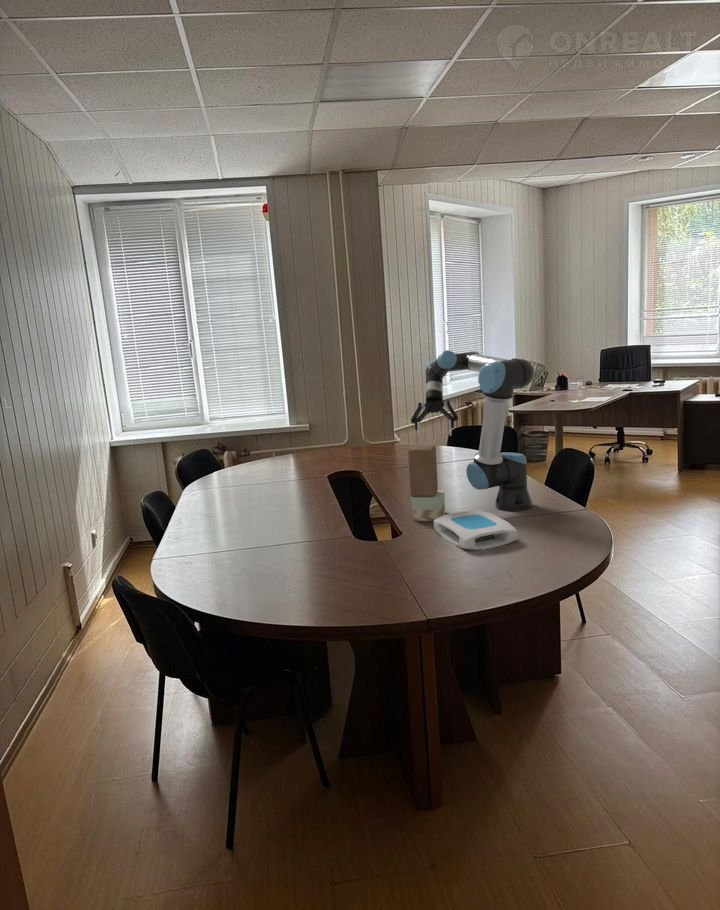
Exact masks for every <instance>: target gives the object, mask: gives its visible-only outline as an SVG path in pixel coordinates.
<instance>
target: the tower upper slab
mask: <svg viewBox="0 0 720 910" xmlns="http://www.w3.org/2000/svg"><path fill="white" fill-rule="evenodd" d="M445 497H446V496H445V490H444V489H443V490H439V489H438V490H437V492H436V494H435V495H434V496H433V497H413V496H411V498H410V499H411V502H410V503H411V510H412V511H413V510H441V509H442V507H443V504H444V502H445V503H446V501H445Z"/></svg>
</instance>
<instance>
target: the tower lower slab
mask: <svg viewBox="0 0 720 910" xmlns="http://www.w3.org/2000/svg"><path fill="white" fill-rule="evenodd" d="M445 503H446V501H445V502H444V504H443V507H442V509H441V510H412V514H413V522H428V521H429V522H432V521H433V522H434V520H435V519H437V518H439V517H441V516H443V515H446V506H445V505H446V504H445Z"/></svg>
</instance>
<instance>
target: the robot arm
mask: <svg viewBox="0 0 720 910" xmlns="http://www.w3.org/2000/svg"><path fill="white" fill-rule="evenodd" d="M467 370H468V371H473V372H478V373H479V374H478V378H477V379H478V380H477V381H478V384H479V385H478V386H479V389H480V391H481V392H482V394H483V396H484V397H485V404H484V412H483V417H482V418H483V419H482V424H481V432H480V441H479V447H478V452H476V453H474V457H473V462H470V463H469V464H467V466H466V477H467V479H468V482H469V483H470V485H471V486H472V487H473V488H474V489H475V490H478V491H479V490H480V491H481V490H488V489H491V488H495V487H498V492H497V494H496V495H497V496H496V499H495V508H497V510H501V511H508V512H509V511H510V512H517V511H518V512H519V511H525V510H528V509H531V508H532V506H533V505H532V504H533V503H532V502H533V501H532V498H531V496H530V492H529V489H528V475H527V474H528V471H527V470H528V469H527V468H528V467H527V466H528V463H527V457H526V456H525V455H526V454H525V455H524V454H523V453H518V452H506V451H504V452H501V450H502V444H503V443H502V442H503V437H504V436H503V435H504V430H505V422H506V418H507V417H506V416H507V411H508V403H509V401H510V400H511V399H512V398H513V396H514V391H515V390H520V389H523V388H526V387H527V386H529V385H530V384H531V383H532V381H533V379H534V377H535V370H534V366H533V365H532V363H531V362H530V361H528V360H527V359H523V358H518V357H516V358H515V357H513V358H511V359H509V358H507V359H506V358H501V357H495V356H490V355H484V354H481V353H480V352H479V351H469V352H461V353H458V352H457V353H454V352H453V351H452V350H447V349H446V350H443V351H442V352H441V353H440V354H439V355H438V356H437V358H436V359H435V360H433V361H430V362H428V363H427V364H426V366H425V372H424V373H425V402H424V403H422V402H418V403H417V404H418V405H417V408H416V410H415V411H414V413H413V414H412V417H411V418H410V421H411V424H413V425H414V429H415V431H416V432H417V438H418V439H420V438H421V424H420V423H421V422H422V421H423V420H424V418H425V417H426V416H427V415H429V414H430V413H431V414H434V413H436V414H438V413H439V412H440V414H442V415H444V417H445V418H446V419H448V430H449V431H448V433H449V437H451V436H452V429H455V422H456V421H459V418H458V415H457V413H456V412H455V410H454V408H453V407H452V406H451V401H450V400H447V401H445V402H444V394H443V393H444V389H443V388H444V387H443V381H444V380H443V379H444V377H445V376H446V375H447V374H448V373H449V372H459V371H467ZM444 407H446V408H447V409H448V410H449V412H448V411H447V410H446V409H445V408H444ZM423 409H424V410H423ZM422 410H423V411H422Z"/></svg>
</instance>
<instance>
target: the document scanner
mask: <svg viewBox="0 0 720 910" xmlns="http://www.w3.org/2000/svg"><path fill="white" fill-rule="evenodd" d="M433 528H434V530H435V531H436V532H437V533H438V534H439V536H440V535H441V536H440V537H441V538H443V537H444V540H446V539H447V540H446V541H447V542H449V541H450V542H451V543H450V542H449V543H450V544H452V543H453V544H454V546H455V545H456V546H455V547H457V546H458V547H457V548H460V549H466V550H473V551H479V550H478V549H482V550H484V549H483V548H487V547H493V546H498V545H503V544H507V545H509V544H511V543H513V542H515V541H517V540H518V530H517V528H515V527H514V526H513V525H512V524H511V523H510V522H508V521H507V520H505V519H503V518H501V517H499V516H497V515H495V514H493V513H491V512H486V511H480V510H465V511H459V512H453V513H445V514H444V515H443V516H441V517H439V518H437V519H435V520H434V521H433ZM453 532H454V533H453ZM491 534H492V535H494V536H495V537H496V538H495V537H494V536H493V537H494V538H491V539H487V540H483V541H476V539H477V538H480V537H486V536H489V535H491ZM492 535H491V536H492ZM508 543H509V544H508ZM453 544H452V545H453ZM498 547H499V546H498ZM493 548H494V547H493Z"/></svg>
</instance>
